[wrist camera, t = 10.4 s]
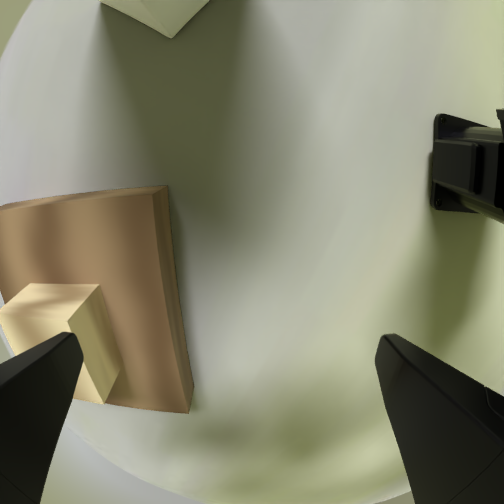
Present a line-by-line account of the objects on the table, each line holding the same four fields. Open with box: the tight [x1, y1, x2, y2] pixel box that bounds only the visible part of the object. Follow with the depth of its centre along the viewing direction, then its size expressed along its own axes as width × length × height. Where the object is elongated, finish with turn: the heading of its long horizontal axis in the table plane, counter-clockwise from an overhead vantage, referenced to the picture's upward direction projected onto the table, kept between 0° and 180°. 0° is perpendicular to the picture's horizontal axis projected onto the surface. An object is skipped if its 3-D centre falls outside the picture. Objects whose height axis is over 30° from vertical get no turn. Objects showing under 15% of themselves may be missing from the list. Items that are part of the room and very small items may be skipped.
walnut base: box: [0, 185, 194, 414], centre depth 18 cm, size 14×16×3 cm
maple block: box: [0, 283, 124, 404], centre depth 15 cm, size 6×6×4 cm
